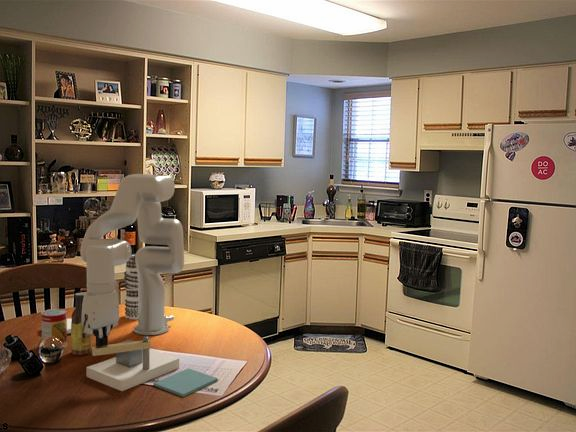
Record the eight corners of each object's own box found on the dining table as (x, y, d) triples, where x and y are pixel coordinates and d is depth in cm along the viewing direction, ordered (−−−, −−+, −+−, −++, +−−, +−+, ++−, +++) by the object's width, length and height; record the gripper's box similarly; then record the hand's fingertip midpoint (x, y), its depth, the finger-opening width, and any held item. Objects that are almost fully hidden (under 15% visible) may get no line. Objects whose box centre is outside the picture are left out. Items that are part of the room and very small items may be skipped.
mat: (188, 370, 173) (188, 368, 173) (217, 380, 167) (217, 378, 167) (153, 385, 162) (153, 383, 162) (183, 397, 155) (183, 394, 155)
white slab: (144, 355, 185) (144, 327, 184) (179, 367, 176) (179, 338, 175) (86, 376, 167) (86, 345, 166) (122, 391, 158) (121, 358, 157)
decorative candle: (152, 315, 229) (152, 254, 226) (137, 321, 221) (137, 258, 218) (134, 311, 233) (134, 252, 230) (119, 317, 225) (118, 255, 222)
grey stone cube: (129, 358, 174) (129, 339, 174) (142, 362, 171) (142, 343, 170) (116, 362, 170) (115, 343, 170) (129, 367, 167) (129, 348, 166)
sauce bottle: (84, 357, 182) (83, 297, 180) (67, 355, 183) (66, 295, 181) (95, 350, 188) (94, 292, 186) (78, 348, 190) (77, 290, 187)
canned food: (72, 344, 193) (71, 310, 192) (55, 351, 186) (55, 316, 185) (53, 341, 196) (53, 307, 195) (36, 348, 189) (36, 313, 187)
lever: (92, 353, 160) (91, 342, 159) (148, 346, 167) (148, 335, 167) (93, 356, 158) (92, 345, 158) (150, 348, 165) (150, 337, 165)
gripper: (113, 280, 168) (114, 339, 171) (69, 290, 156) (71, 353, 159) (130, 284, 164) (131, 344, 167) (86, 295, 152) (87, 360, 154)
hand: (102, 349), depth 163 cm, fingers closed
